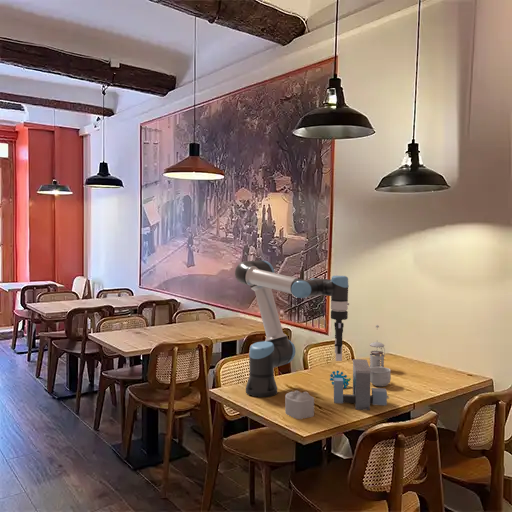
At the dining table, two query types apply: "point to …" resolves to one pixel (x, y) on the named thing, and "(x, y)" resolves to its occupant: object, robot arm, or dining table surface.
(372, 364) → the french press
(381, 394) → the blue-grey u-shaped block
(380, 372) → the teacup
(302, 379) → the dining table surface
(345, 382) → the blue spiked virus model
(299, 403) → the lumpy-topped squat cylinder
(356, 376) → the block
